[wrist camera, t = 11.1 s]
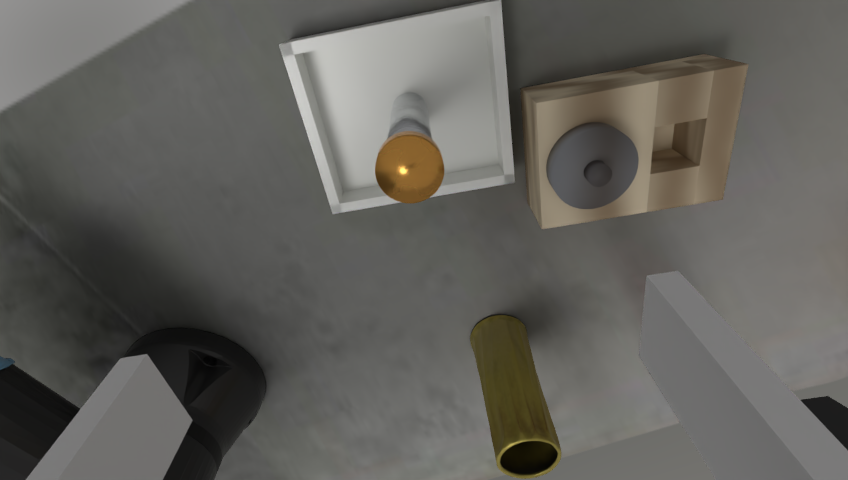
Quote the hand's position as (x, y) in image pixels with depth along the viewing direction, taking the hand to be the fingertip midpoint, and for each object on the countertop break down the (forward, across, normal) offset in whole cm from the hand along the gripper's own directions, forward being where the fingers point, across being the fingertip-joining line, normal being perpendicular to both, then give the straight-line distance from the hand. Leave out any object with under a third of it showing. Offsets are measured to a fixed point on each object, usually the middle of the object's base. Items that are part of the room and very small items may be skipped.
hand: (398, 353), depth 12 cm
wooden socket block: (+26, +16, -5) cm, 31 cm away
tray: (+27, 0, 0) cm, 27 cm away
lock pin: (+26, 0, 0) cm, 26 cm away
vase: (+27, +5, -25) cm, 37 cm away
